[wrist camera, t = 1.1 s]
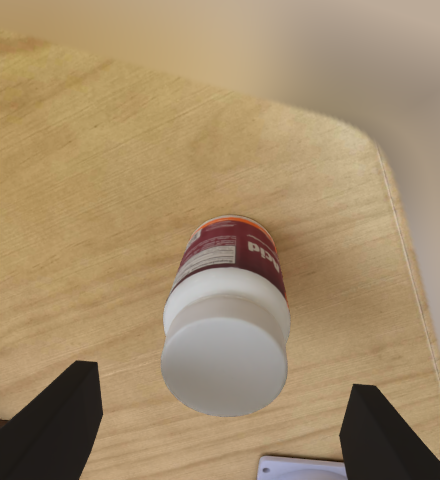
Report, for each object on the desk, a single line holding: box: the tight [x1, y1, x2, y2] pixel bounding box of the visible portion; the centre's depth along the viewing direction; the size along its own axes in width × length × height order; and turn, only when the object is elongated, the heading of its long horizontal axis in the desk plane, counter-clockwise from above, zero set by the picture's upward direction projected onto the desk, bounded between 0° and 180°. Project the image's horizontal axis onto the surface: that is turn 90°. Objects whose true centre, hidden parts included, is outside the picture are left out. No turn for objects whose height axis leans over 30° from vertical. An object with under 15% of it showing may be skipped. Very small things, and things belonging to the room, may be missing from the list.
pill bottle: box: [161, 215, 291, 417], centre depth 15 cm, size 5×5×8 cm
